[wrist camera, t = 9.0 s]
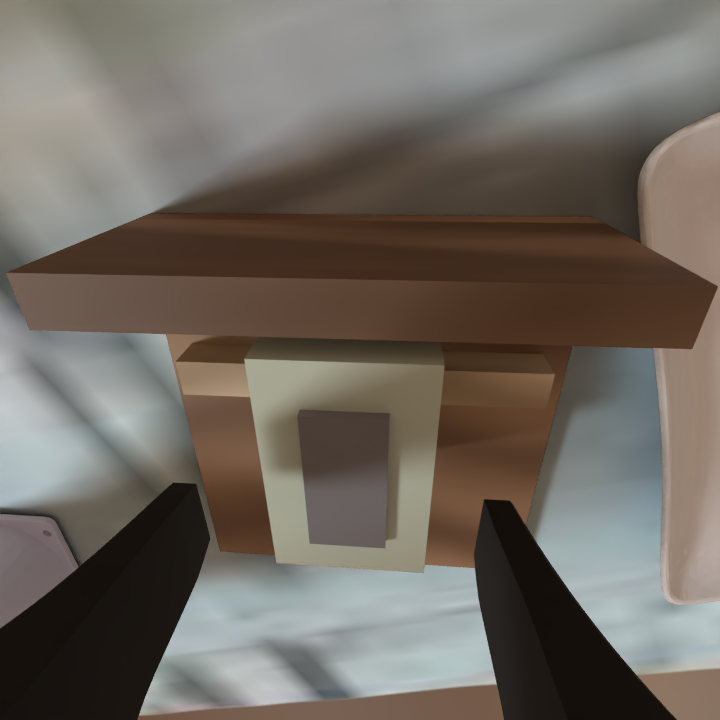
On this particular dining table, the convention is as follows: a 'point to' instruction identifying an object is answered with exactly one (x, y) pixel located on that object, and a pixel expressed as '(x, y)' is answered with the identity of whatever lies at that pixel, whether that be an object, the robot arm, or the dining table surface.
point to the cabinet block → (347, 447)
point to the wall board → (373, 329)
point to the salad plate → (688, 359)
